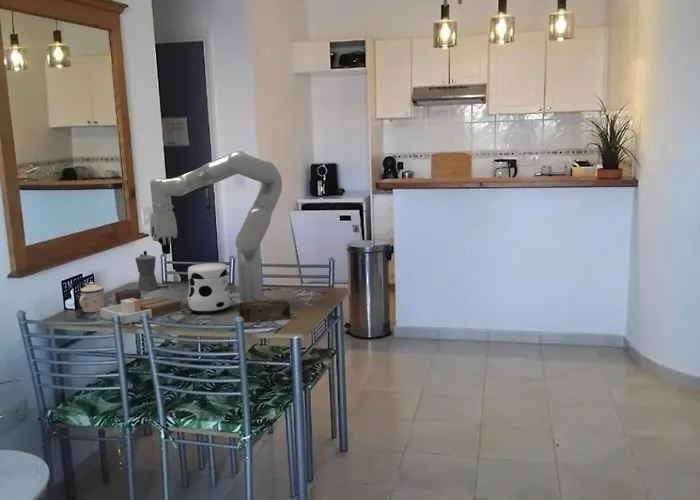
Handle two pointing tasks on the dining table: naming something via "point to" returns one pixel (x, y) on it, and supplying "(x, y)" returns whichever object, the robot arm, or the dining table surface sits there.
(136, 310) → the terracotta tile
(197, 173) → the robot arm
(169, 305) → the brown square slab
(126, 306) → the cream tile
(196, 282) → the milk container
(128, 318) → the tray
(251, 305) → the beverage carton
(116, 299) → the perforated stone tool
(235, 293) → the dining table surface
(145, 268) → the coffeepot
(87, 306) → the teacup with lid
